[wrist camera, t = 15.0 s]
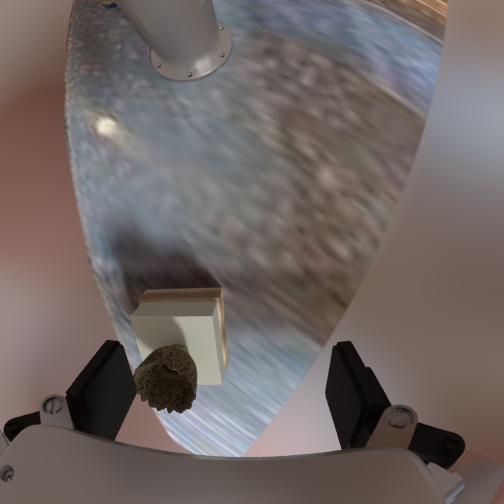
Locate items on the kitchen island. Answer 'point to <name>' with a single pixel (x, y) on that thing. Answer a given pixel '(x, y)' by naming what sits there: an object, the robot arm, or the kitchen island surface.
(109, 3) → the beverage bottle
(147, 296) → the box
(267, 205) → the kitchen island surface
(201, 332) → the tower top
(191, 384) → the dark brown tapered piece
